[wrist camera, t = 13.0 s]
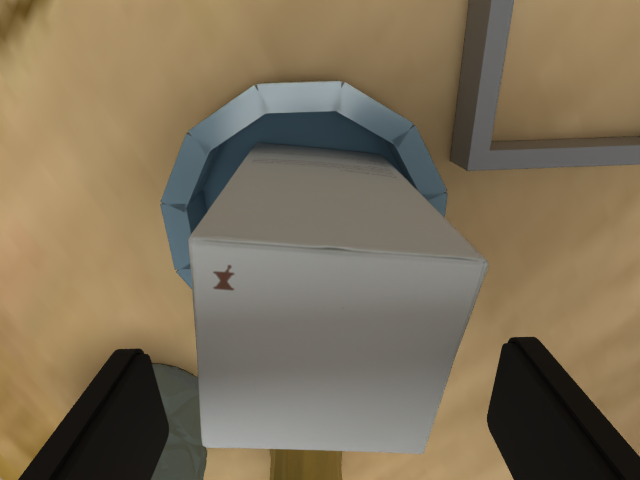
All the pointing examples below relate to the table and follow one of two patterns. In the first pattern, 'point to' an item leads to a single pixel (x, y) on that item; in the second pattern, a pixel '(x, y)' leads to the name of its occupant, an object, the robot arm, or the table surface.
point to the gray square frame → (481, 102)
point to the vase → (305, 464)
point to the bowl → (287, 129)
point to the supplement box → (326, 304)
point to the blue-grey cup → (180, 426)
